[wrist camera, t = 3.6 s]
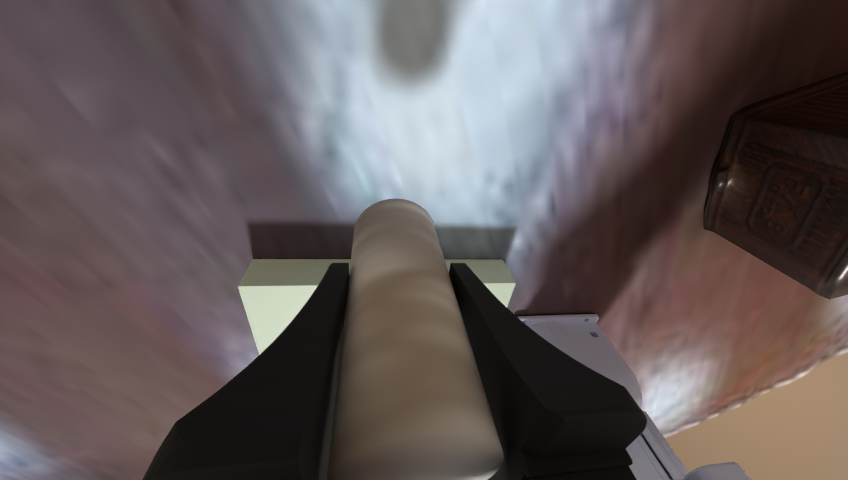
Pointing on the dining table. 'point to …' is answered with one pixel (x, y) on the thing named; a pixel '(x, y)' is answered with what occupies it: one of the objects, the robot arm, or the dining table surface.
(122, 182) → the dining table surface
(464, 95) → the dining table surface
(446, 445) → the peg
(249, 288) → the socket board
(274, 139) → the dining table surface
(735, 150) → the pepper mill
